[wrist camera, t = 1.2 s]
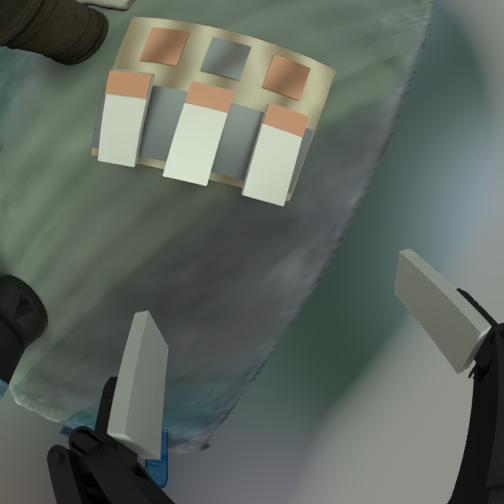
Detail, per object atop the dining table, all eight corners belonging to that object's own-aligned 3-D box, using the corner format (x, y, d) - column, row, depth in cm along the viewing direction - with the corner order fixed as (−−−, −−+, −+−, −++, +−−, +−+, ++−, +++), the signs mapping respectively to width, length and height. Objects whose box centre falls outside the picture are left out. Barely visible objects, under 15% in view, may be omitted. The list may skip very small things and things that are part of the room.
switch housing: (106, 142, 29) (91, 147, 25) (121, 84, 26) (107, 80, 22) (280, 183, 36) (290, 193, 31) (300, 128, 32) (313, 130, 28)
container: (119, 15, 22) (63, -38, 6) (90, 69, 25) (11, 49, 9) (72, 10, 19) (7, -27, 3) (46, 61, 22) (-34, 50, 6)
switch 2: (238, 194, 28) (242, 195, 26) (263, 108, 26) (269, 102, 24) (277, 204, 29) (284, 206, 27) (299, 121, 28) (308, 116, 25)
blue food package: (168, 430, 66) (169, 501, 45) (163, 442, 71) (163, 505, 49) (148, 426, 65) (146, 498, 43) (145, 438, 69) (143, 502, 47)
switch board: (95, 153, 31) (90, 155, 29) (135, 20, 23) (132, 15, 21) (286, 198, 38) (290, 202, 37) (331, 71, 30) (337, 70, 28)
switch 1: (105, 153, 26) (96, 161, 24) (119, 68, 20) (109, 70, 18) (140, 159, 27) (133, 168, 25) (158, 73, 21) (151, 74, 19)
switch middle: (165, 176, 26) (162, 175, 24) (192, 89, 24) (192, 80, 22) (205, 185, 27) (206, 186, 25) (231, 98, 26) (235, 91, 23)
